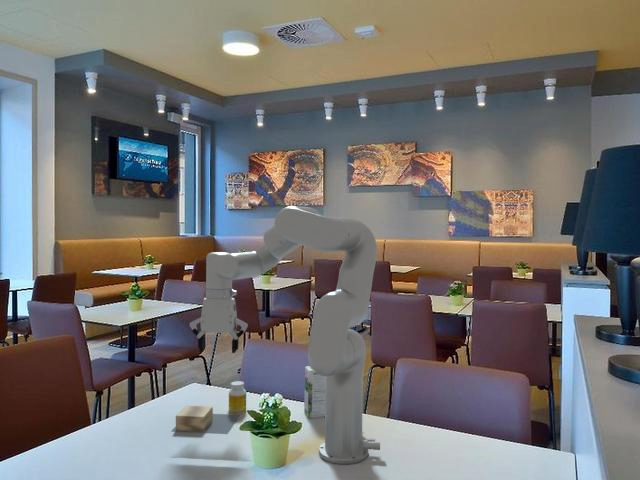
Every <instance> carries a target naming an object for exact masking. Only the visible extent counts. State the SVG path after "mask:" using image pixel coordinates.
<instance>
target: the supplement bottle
mask: <svg viewBox="0 0 640 480" xmlns="http://www.w3.org/2000/svg"><path fill="white" fill-rule="evenodd" d="M246 411H247V390H246V389H245V382H244V381H240V380H238V381H237V380H236V381H232V382H230V389H229V391H228V412H229V413H230V414H231V413H232V414H241V413H245V412H246Z"/></svg>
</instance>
